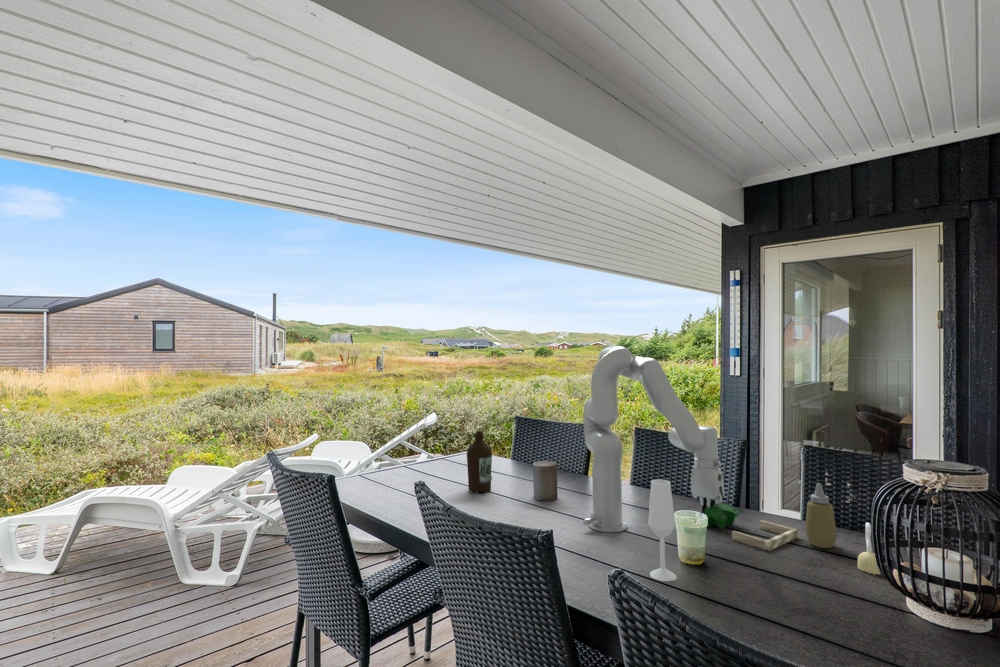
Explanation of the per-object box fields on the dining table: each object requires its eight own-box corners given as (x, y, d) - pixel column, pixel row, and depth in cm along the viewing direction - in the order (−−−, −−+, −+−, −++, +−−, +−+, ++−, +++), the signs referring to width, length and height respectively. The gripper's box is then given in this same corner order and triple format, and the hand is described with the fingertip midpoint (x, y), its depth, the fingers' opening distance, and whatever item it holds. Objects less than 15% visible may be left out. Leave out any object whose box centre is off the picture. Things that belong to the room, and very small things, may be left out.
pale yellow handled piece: (883, 576, 129) (881, 528, 129) (858, 571, 132) (856, 524, 132) (881, 567, 134) (879, 521, 134) (856, 563, 137) (855, 518, 137)
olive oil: (462, 490, 214) (461, 431, 215) (480, 485, 221) (480, 428, 222) (478, 495, 206) (478, 433, 207) (497, 490, 214) (496, 430, 215)
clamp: (718, 542, 164) (717, 521, 160) (702, 532, 169) (701, 511, 165) (740, 522, 169) (740, 501, 166) (724, 513, 174) (724, 492, 171)
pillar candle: (561, 496, 203) (560, 458, 204) (550, 502, 195) (549, 463, 196) (540, 493, 209) (539, 456, 209) (528, 499, 200) (527, 461, 201)
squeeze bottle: (833, 541, 152) (830, 481, 153) (841, 551, 145) (839, 488, 145) (802, 538, 155) (800, 479, 155) (809, 548, 147) (806, 486, 148)
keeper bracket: (769, 551, 146) (768, 542, 146) (732, 539, 155) (731, 531, 155) (798, 537, 156) (797, 529, 156) (761, 527, 165) (761, 519, 165)
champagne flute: (655, 567, 136) (653, 477, 137) (680, 574, 131) (678, 481, 132) (645, 576, 131) (643, 482, 131) (670, 583, 126) (668, 486, 127)
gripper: (733, 465, 168) (734, 521, 167) (693, 458, 180) (694, 510, 180) (720, 468, 164) (722, 526, 163) (680, 461, 176) (681, 514, 175)
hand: (707, 517), depth 171 cm, fingers closed
